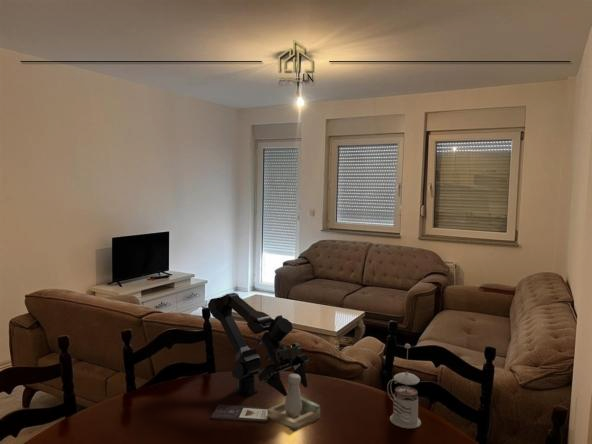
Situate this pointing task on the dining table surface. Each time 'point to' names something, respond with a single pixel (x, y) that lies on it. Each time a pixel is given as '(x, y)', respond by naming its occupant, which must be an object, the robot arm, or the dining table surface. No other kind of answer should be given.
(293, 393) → the salt shaker
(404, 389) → the french press
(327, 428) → the dining table surface
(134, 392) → the dining table surface
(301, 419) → the maple tray
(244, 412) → the chocolate bar
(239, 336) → the robot arm
